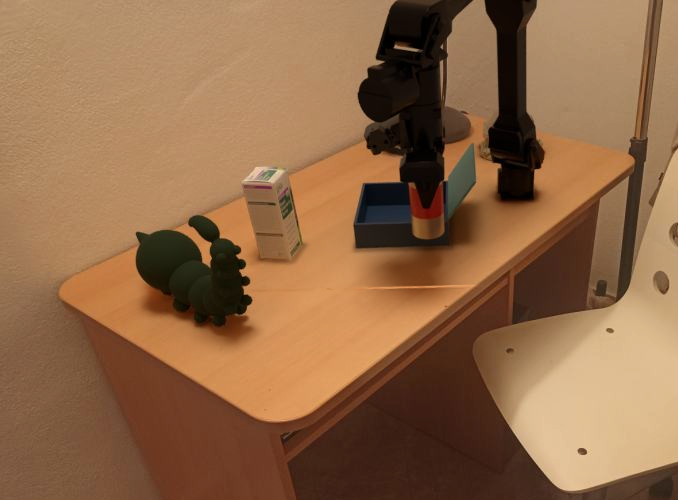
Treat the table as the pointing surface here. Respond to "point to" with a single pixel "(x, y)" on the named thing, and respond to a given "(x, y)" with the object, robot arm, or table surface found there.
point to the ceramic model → (484, 145)
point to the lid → (461, 180)
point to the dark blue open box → (391, 217)
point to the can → (427, 214)
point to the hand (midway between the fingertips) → (426, 199)
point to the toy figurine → (195, 271)
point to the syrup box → (272, 212)
